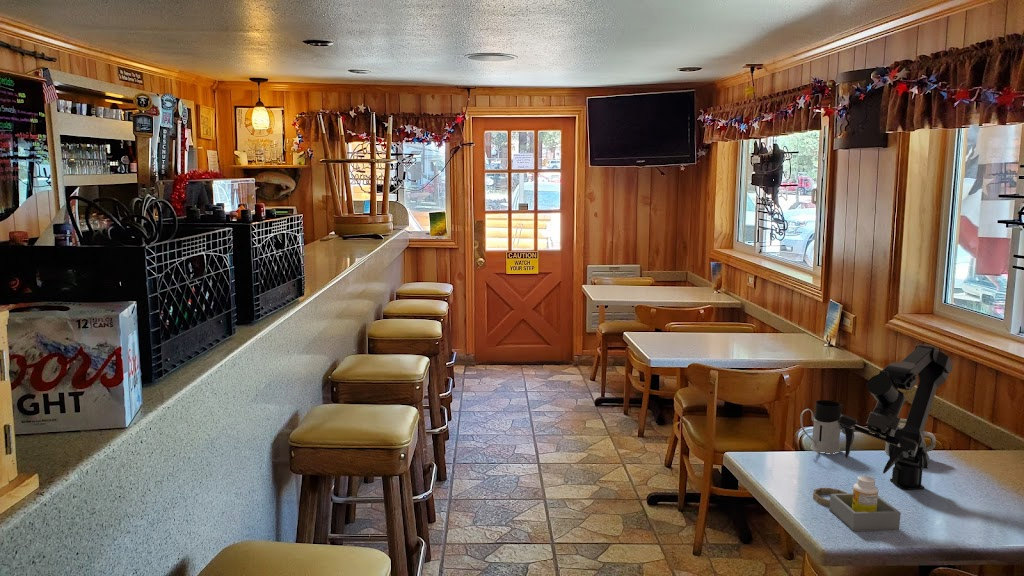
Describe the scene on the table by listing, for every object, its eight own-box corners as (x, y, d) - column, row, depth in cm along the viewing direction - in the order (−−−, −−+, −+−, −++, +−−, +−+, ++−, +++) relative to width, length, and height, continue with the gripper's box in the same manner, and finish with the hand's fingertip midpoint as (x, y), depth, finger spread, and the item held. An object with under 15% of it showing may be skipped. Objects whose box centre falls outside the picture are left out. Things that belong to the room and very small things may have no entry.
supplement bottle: (853, 511, 192) (856, 472, 190) (877, 516, 188) (880, 477, 187) (849, 519, 187) (852, 479, 186) (873, 524, 184) (876, 484, 183)
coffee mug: (880, 454, 234) (883, 423, 232) (890, 446, 241) (893, 416, 239) (928, 465, 225) (931, 433, 223) (937, 457, 232) (940, 425, 231)
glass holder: (846, 453, 235) (850, 406, 233) (807, 457, 231) (811, 409, 229) (827, 443, 243) (830, 398, 241) (789, 447, 239) (792, 401, 237)
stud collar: (840, 492, 204) (840, 487, 204) (857, 507, 195) (858, 501, 195) (807, 493, 204) (807, 488, 203) (823, 507, 195) (823, 502, 194)
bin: (873, 509, 194) (874, 492, 193) (899, 530, 182) (900, 512, 182) (829, 510, 193) (830, 493, 192) (852, 531, 182) (854, 513, 181)
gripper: (847, 387, 194) (824, 441, 190) (926, 414, 183) (903, 473, 180) (850, 401, 203) (828, 453, 199) (925, 428, 192) (904, 484, 189)
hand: (864, 465), depth 192 cm, fingers open, 9 cm apart
